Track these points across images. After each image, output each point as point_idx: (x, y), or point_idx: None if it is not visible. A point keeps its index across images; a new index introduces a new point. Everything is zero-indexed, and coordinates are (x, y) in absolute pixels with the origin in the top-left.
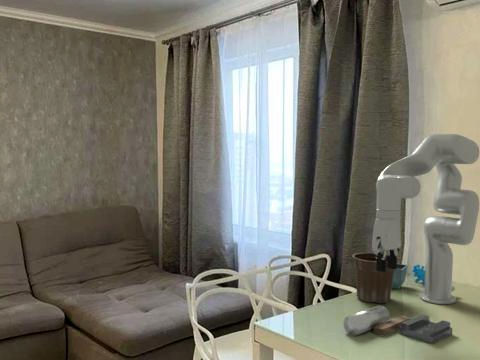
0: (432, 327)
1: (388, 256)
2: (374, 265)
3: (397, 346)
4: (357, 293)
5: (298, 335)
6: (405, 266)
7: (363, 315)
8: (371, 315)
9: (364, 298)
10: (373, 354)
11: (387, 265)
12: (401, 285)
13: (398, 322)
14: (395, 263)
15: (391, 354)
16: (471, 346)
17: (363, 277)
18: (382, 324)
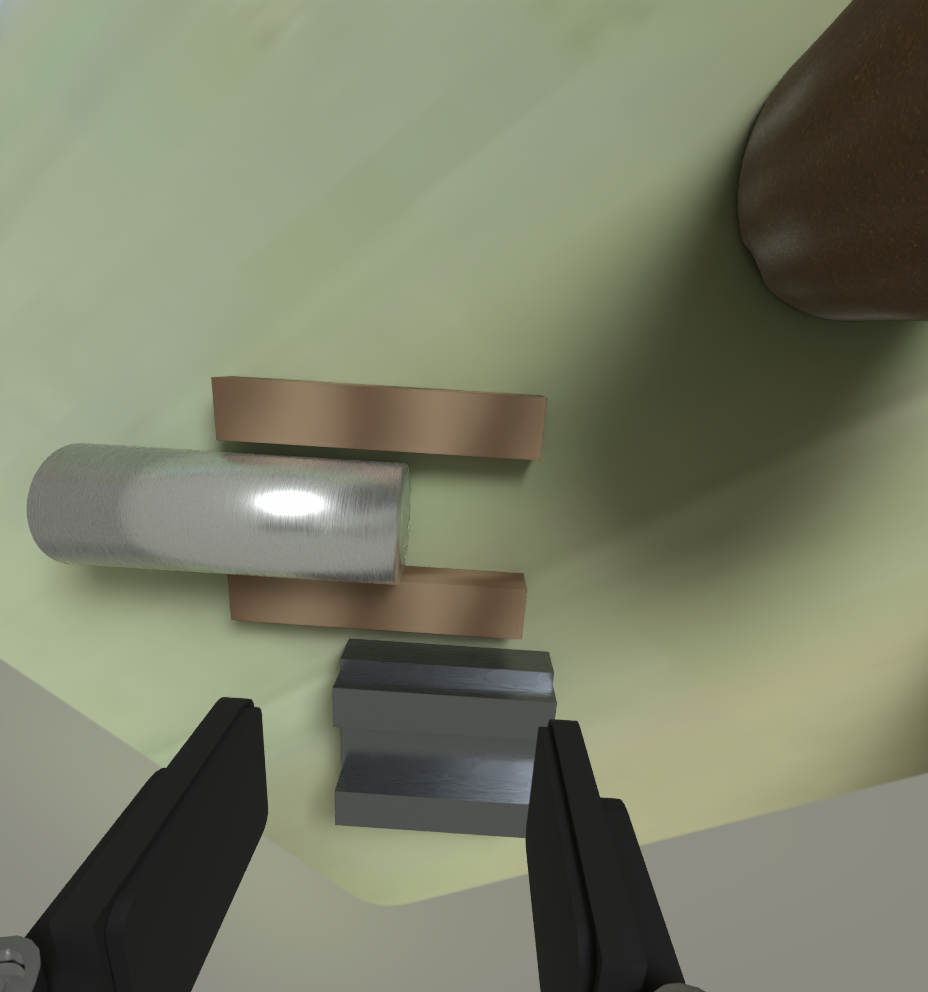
0: (397, 811)
1: (577, 975)
2: None
3: (202, 702)
4: (814, 42)
5: None
6: None
7: (132, 553)
8: (208, 568)
9: (749, 166)
10: (40, 675)
11: (542, 750)
12: None
13: (400, 626)
14: (540, 945)
15: (109, 722)
16: (452, 880)
17: (896, 34)
18: (299, 583)
